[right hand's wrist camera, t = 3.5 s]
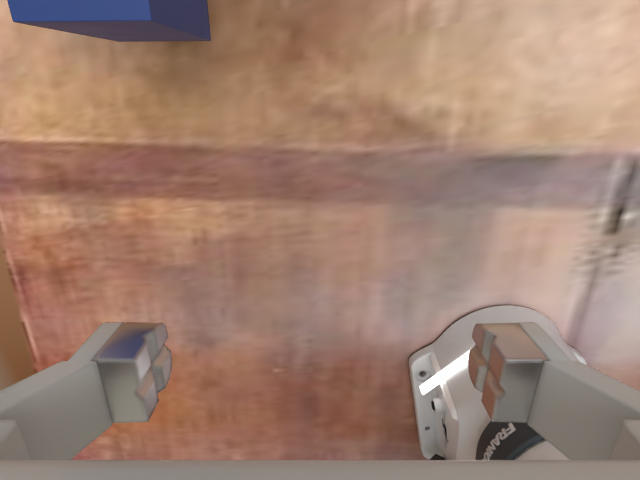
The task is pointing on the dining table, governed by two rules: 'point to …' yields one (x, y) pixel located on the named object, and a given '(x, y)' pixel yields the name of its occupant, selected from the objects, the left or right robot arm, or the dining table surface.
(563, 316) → the dining table surface
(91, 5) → the box
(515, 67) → the dining table surface
